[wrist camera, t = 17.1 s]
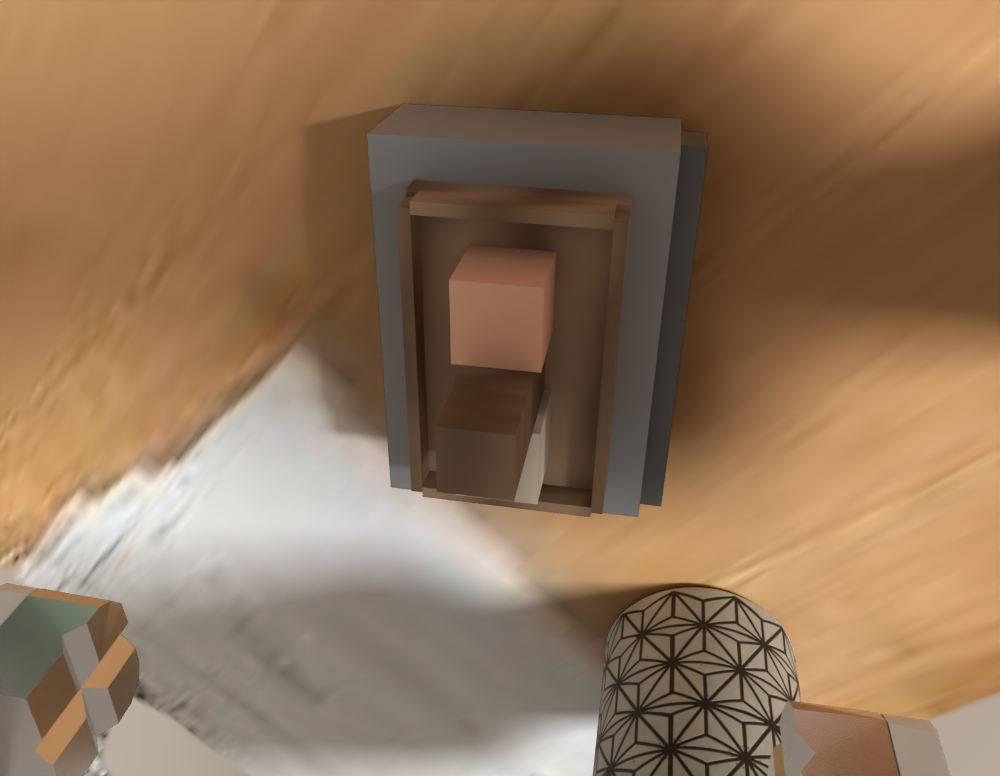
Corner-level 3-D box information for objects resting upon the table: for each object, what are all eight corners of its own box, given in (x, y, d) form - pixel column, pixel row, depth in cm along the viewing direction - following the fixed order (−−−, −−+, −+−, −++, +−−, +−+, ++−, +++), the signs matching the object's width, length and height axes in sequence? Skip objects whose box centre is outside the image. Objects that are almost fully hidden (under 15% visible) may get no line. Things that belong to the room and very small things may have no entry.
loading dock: (706, 119, 42) (709, 153, 37) (662, 457, 53) (660, 519, 48) (403, 103, 45) (367, 133, 40) (418, 430, 55) (390, 487, 50)
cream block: (551, 389, 43) (540, 434, 39) (548, 456, 45) (537, 504, 42) (471, 381, 43) (453, 425, 40) (472, 448, 46) (455, 494, 42)
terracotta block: (556, 251, 39) (544, 288, 36) (552, 331, 41) (541, 372, 38) (469, 245, 40) (448, 279, 36) (469, 323, 42) (450, 363, 38)
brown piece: (632, 194, 39) (617, 290, 30) (606, 483, 47) (588, 626, 38) (414, 179, 40) (337, 267, 31) (425, 462, 48) (367, 595, 40)
